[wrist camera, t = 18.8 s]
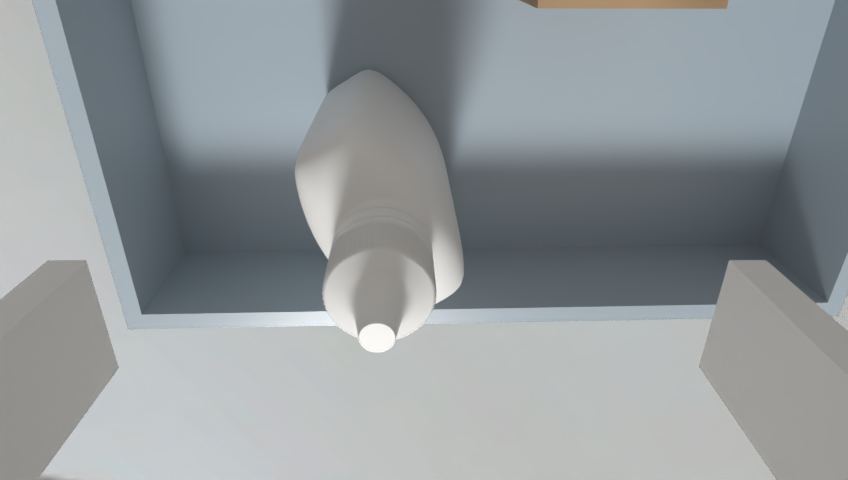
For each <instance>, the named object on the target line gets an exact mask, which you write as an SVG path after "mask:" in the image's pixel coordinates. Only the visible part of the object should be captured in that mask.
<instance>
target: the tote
mask: <svg viewBox="0 0 848 480" xmlns="http://www.w3.org/2000/svg"><path fill="white" fill-rule="evenodd" d="M32 3H33V6H34V10H35V13H36V17H37V20H38V23H39V27H40V30H41V34H42V37H43V41H44V44H45V47H46V51H47V54H48V58H49V61H50V65H51V68H52V71H53V75H54V78H55V82H56V85H57V88H58V92H59V95H60V99H61V102H62V106H63V109H64V112H65V116H66V119H67V123H68V126H69V129H70V133H71V136H72V140H73V143H74V147H75V150H76V153H77V157H78V160H79V164H80V167H81V171H82V174H83V177H84V181H85V184H86V188H87V191H88V194H89V198H90V201H91V205H92V208H93V212H94V215H95V218H96V222H97V225H98V229H99V232H100V235H101V239H102V242H103V246H104V249H105V253H106V256H107V259H108V263H109V266H110V270H111V273H112V276H113V280H114V283H115V287H116V290H117V294H118V297H119V300H120V304H121V307H122V311H123V314H124V318H125V321H126V324H127V328H128V329H168V328H223V327H278V326H332V325H337V324H336V323H334V322H333V321H334V320H332V319H331V318H330V315H329V314H327V312H328V311H327V310H326V309H325V305H324V304H323V303H324V301H323V299H322V298H323V295H322V291H323V290H322V286H323V281H324V276H325V272H326V268H327V263H328V259H327V257H326V256H325V254H324V253H323V251H322V250H321V248H320V247H319V245H318V243H317V241H316V239H315V237H314V235H313V234H312V231H311V229H310V227H309V225H308V222H307V220H306V217H305V214H304V212H303V209H302V205H301V202H300V199H299V194H298V190H297V186H296V179H295V165H296V158H297V155H298V152H299V150H300V147H301V145H302V143H303V141H304V139H305V136H306V134H307V132H308V130H309V128H310V126H311V124H312V122H313V120H314V118H315V116H316V114H317V112H318V110H319V108H320V106H321V104H322V102H323V100H324V98H325V97H326V96H327V94H328V93H329V92H330V91H331V90H332V89H334V88H335V87H337V86H338V85H340V84H341V83H343V82H344V81H346V80H347V79H349V78H351V77H352V76H354V75H355V74H357V73H359V72H361V71H364V70H368V69H370V70H374V71H377V72H379V73H381V74H382V75H384V76H385V77H387V78H388V79H390V80H391V81H392V82H393V83H395V84H396V85H397V86H398V87H399V88H401V89H402V90H403V91H404V92H405V93H406V94H407V95H408V96H409V97H410V98H411V99H412V100H413V102H414V103H415V104H416V105H417V106H418V108H419V109H420V110H421V112H422V113H423V114H424V116H425V117H426V119H427V121H428V122H429V124H430V126H431V128H432V129H433V131H434V134H435V136H436V138H437V140H438V143H439V145H440V148H441V151H442V154H443V157H444V161H445V165H446V170H447V174H448V179H449V184H450V189H451V194H452V198H453V203H454V208H455V213H456V218H457V223H458V228H459V233H460V239H461V244H462V250H463V258H464V277H463V280H462V283H461V285H460V287H459V288H458V289H457V290H456V291H455V292H454V293H453V294H451V295H450V296H448V297H447V298H445V299H444V300H442V301H440V302H438V303H436V304H434V306H435V307H434V308H433V309H432V310H433V312H432V313H431V314H430V317H429V318H427V321H426V322H424V324H442V323H496V322H551V321H606V320H661V319H713V315H714V312H715V308H716V304H717V301H718V297H719V294H720V290H721V287H722V283H723V280H724V276H725V273H726V269H727V266H728V262H729V260H767V261H768V262H769V263H770V264H771V265H772V266H773V267H775V268H776V269H777V270H778V271H779V272H780V273H781V274H783V275H784V276H785V277H786V278H787V279H788V280H789V281H791V282H792V283H793V284H794V285H795V286H796V287H798V288H799V289H800V290H801V291H802V292H803V293H804V294H806V295H807V296H808V297H809V298H810V299H811V300H812V301H814V302H815V303H816V304H817V305H818V306H819V307H820V308H822V309H823V310H824V311H825V312H826V313H827V314H829V315H830V316H839V313H840V311H841V309H842V306H843V304H844V301H845V299H846V297H847V294H848V0H729V1H728V5H727V9H561V8H535V7H533V6H531V5H529V4H526V3H524V2H522V1H520V0H32Z"/></svg>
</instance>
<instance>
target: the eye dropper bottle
mask: <svg viewBox="0 0 848 480" xmlns="http://www.w3.org/2000/svg"><path fill="white" fill-rule="evenodd" d="M295 179H296V186H297V190H298V194H299V199H300V202H301V205H302V209H303V212H304V214H305V217H306V220H307V222H308V225H309V227H310V229H311V231H312V234H313V235H314V237H315V239H316V241H317V243H318V245H319V247H320V248H321V250H322V251H323V253H324V254H325V256H326V257H327V259H328V263H327V268H326V272H325V276H324V281H323V286H322V290H323V291H322V295H323V298H322V299H323V301H324V303H323V304H324V305H325V309H326V310H327V311H328V312H327V314H329V315H330V318H331V319H332V320H334V321H333V322H334V323H336V324H337V326H338V327H340V328H341V329H342V330H344V331H345V332H346V333H349V334H350V335H352V336H355V337H357V338H358V339H359V342H360V344H361V346H362V347H363V348H364V349H366V350H367V351H370V352H374V353H380V352H384V351H387V350H389V349H390V348H391V347H392V346H393V345H394V343H395V340H396V339H400V338H402V337H406V336H407V335H409V334H411V333H412V332H415V331H416V330H417V329H419V328H420V326H422V325H424V322H426V321H427V318H429V317H430V314H431V313H432V312H433V310H432V309H433V308H434V307H435V306H434V304H436V303H438V302H440V301H442V300H444V299H445V298H447V297H448V296H450V295H451V294H453V293H454V292H455V291H456V290H457V289H458V288H459V287H460V285H461V283H462V280H463V277H464V258H463V250H462V244H461V239H460V233H459V228H458V223H457V218H456V213H455V208H454V203H453V198H452V194H451V189H450V184H449V179H448V174H447V170H446V165H445V161H444V157H443V154H442V151H441V148H440V145H439V143H438V140H437V138H436V136H435V134H434V131H433V129H432V128H431V126H430V124H429V122H428V121H427V119H426V117H425V116H424V114H423V113H422V112H421V110H420V109H419V108H418V106H417V105H416V104H415V103H414V102H413V100H412V99H411V98H410V97H409V96H408V95H407V94H406V93H405V92H404V91H403V90H402V89H401V88H399V87H398V86H397V85H396V84H395V83H393V82H392V81H391V80H390V79H388V78H387V77H385V76H384V75H382V74H381V73H379V72H377V71H374V70H370V69H368V70H364V71H361V72H359V73H357V74H355V75H354V76H352V77H351V78H349V79H347V80H346V81H344V82H343V83H341V84H340V85H338V86H337V87H335V88H334V89H332V90H331V91H330V92H329V93H328V94H327V96H326V97H325V98H324V100H323V102H322V104H321V106H320V108H319V110H318V112H317V114H316V116H315V118H314V120H313V122H312V124H311V126H310V128H309V130H308V132H307V134H306V136H305V139H304V141H303V143H302V145H301V147H300V150H299V152H298V155H297V158H296V165H295Z"/></svg>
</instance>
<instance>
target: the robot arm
mask: <svg viewBox="0 0 848 480" xmlns="http://www.w3.org/2000/svg"><path fill="white" fill-rule="evenodd" d="M699 367H700V369H701V370H702V372H703V373H704V375H705V376H706V378H707V379H708V380H709V382H710V383H711V385H712V386H713V388H714V389H715V391H716V392H717V394H718V395H719V396H720V398H721V399H722V401H723V402H724V404H725V405H726V407H727V408H728V410H729V411H730V413H731V414H732V415H733V417H734V418H735V420H736V421H737V423H738V424H739V426H740V427H741V429H742V430H743V431H744V433H745V434H746V436H747V437H748V439H749V440H750V442H751V443H752V445H753V446H754V448H755V449H756V450H757V452H758V453H759V455H760V456H761V458H762V459H763V461H764V462H765V464H766V465H767V466H768V468H769V469H770V471H771V472H772V474H773V475H774V477H775V478H776V480H848V331H847V330H846V329H845V328H843V327H842V326H841V325H840V324H839V323H838V322H837V321H835V320H834V319H833V318H832V317H831V316H830V315H829V314H827V313H826V312H825V311H824V310H823V309H822V308H820V307H819V306H818V305H817V304H816V303H815V302H814V301H812V300H811V299H810V298H809V297H808V296H807V295H806V294H804V293H803V292H802V291H801V290H800V289H799V288H798V287H796V286H795V285H794V284H793V283H792V282H791V281H789V280H788V279H787V278H786V277H785V276H784V275H783V274H781V273H780V272H779V271H778V270H777V269H776V268H775V267H773V266H772V265H771V264H770V263H769V262H768V261H767V260H729V262H728V266H727V269H726V273H725V276H724V280H723V283H722V287H721V290H720V294H719V297H718V301H717V304H716V308H715V312H714V315H713V319H712V322H711V326H710V329H709V333H708V336H707V340H706V343H705V347H704V350H703V354H702V357H701V361H700V364H699ZM118 368H119V367H118V364H117V361H116V358H115V354H114V351H113V348H112V344H111V341H110V338H109V335H108V331H107V328H106V325H105V321H104V318H103V315H102V311H101V308H100V305H99V302H98V298H97V295H96V292H95V288H94V285H93V282H92V278H91V275H90V272H89V269H88V265H87V262H86V260H58V261H47V262H46V263H44V264H43V265H42V266H41V267H40V268H38V269H37V270H36V271H35V272H33V273H32V274H31V275H30V276H29V277H27V278H26V279H25V280H24V281H22V282H21V283H20V284H19V285H18V286H16V287H15V288H14V289H13V290H12V291H10V292H9V293H8V294H7V295H5V296H4V297H3V298H2V299H1V300H0V480H37V479H38V478H39V477H40V475H41V474H42V472H43V471H44V470H45V468H46V467H47V466H48V464H49V463H50V461H51V460H52V459H53V457H54V456H55V455H56V453H57V452H58V451H59V449H60V448H61V446H62V445H63V444H64V442H65V441H66V440H67V438H68V437H69V435H70V434H71V433H72V431H73V430H74V429H75V427H76V426H77V424H78V423H79V422H80V420H81V419H82V418H83V416H84V415H85V413H86V412H87V411H88V409H89V408H90V407H91V405H92V404H93V402H94V401H95V400H96V398H97V397H98V396H99V394H100V393H101V391H102V390H103V389H104V387H105V386H106V385H107V383H108V382H109V380H110V379H111V378H112V376H113V375H114V374H115V372H116V371H117V369H118Z"/></svg>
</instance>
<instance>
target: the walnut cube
mask: <svg viewBox="0 0 848 480" xmlns="http://www.w3.org/2000/svg"><path fill="white" fill-rule="evenodd" d="M520 1H522V2H524V3H526V4H529V5H531V6H533V7H535V8H561V9H727V5H728V1H729V0H520Z"/></svg>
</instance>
